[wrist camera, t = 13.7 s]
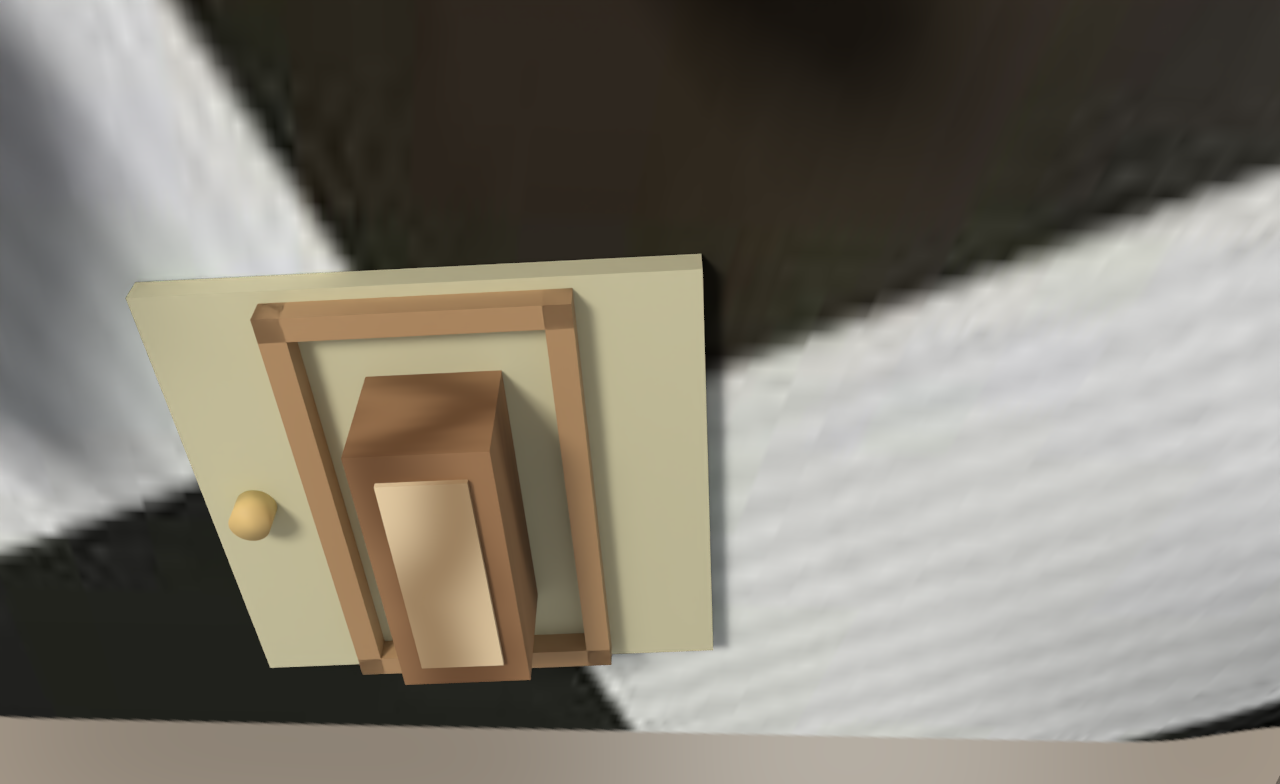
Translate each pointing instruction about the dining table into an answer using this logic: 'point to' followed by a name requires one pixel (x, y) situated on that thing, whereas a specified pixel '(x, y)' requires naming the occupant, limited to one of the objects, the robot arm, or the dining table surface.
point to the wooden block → (445, 524)
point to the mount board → (540, 424)
